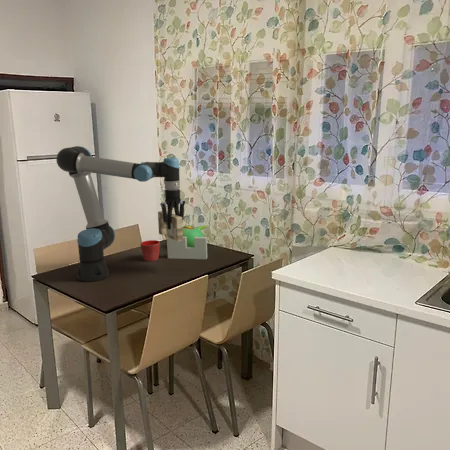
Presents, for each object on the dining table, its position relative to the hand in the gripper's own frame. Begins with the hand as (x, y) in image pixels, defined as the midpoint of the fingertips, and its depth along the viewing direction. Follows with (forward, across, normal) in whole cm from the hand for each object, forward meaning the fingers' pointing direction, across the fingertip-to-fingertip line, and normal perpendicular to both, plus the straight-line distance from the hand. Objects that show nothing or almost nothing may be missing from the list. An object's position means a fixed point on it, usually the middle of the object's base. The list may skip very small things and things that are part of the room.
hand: (174, 234), depth 233 cm
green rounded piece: (+19, +26, +28) cm, 43 cm away
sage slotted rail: (+19, +15, +13) cm, 27 cm away
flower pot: (+19, -2, +24) cm, 31 cm away
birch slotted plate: (+2, 0, +4) cm, 4 cm away
